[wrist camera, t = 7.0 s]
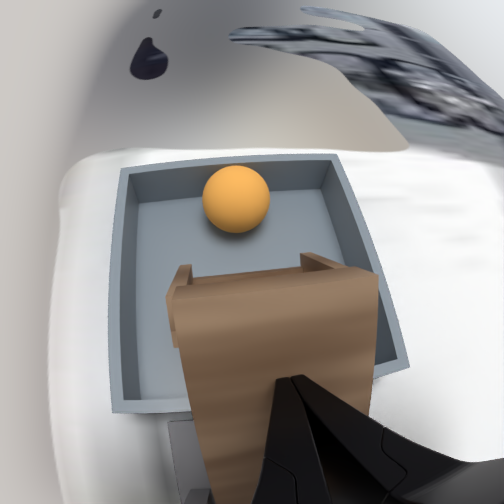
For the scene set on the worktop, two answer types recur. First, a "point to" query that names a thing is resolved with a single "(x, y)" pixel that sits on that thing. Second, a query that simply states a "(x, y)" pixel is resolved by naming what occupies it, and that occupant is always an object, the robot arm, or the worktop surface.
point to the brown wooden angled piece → (267, 353)
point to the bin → (222, 259)
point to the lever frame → (189, 464)
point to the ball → (236, 199)
